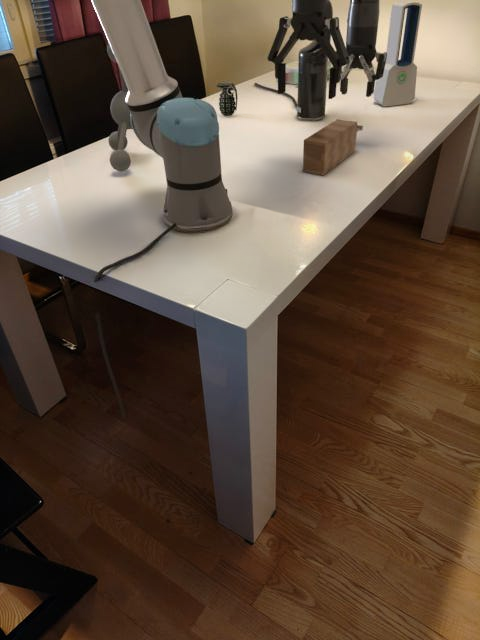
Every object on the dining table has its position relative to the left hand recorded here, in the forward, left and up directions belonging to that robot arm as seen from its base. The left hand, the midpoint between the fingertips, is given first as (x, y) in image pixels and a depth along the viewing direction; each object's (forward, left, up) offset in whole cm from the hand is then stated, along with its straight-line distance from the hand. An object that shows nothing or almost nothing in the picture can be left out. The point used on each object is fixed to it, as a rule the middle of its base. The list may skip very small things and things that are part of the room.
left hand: (306, 95), depth 120 cm
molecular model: (-12, +44, -17) cm, 49 cm away
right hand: (+18, -7, -4) cm, 20 cm away
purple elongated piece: (+9, -6, -16) cm, 19 cm away
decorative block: (+90, +37, -17) cm, 99 cm away
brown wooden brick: (+4, -6, -17) cm, 18 cm away
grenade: (+33, +42, -17) cm, 56 cm away
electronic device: (+65, -7, -17) cm, 68 cm away
